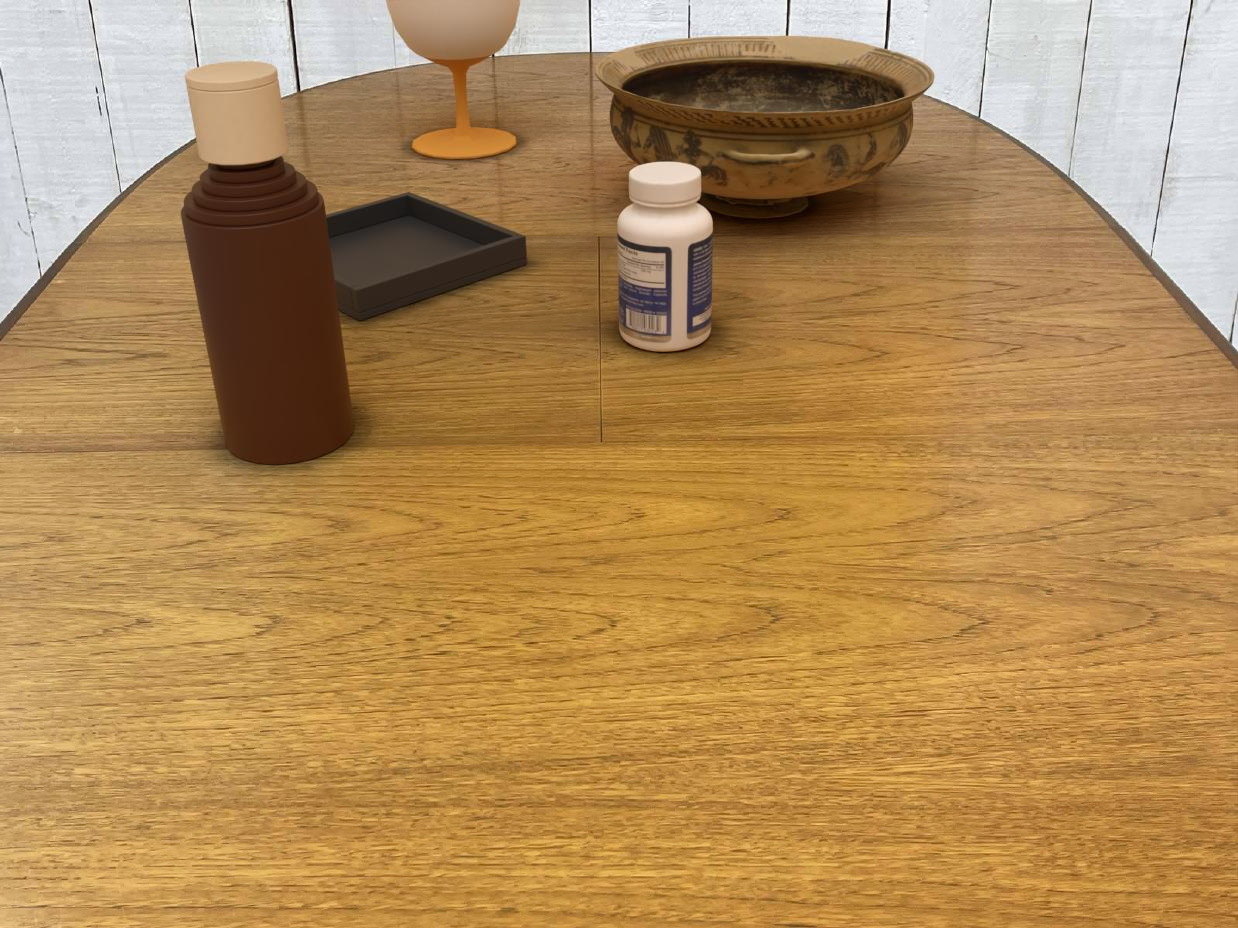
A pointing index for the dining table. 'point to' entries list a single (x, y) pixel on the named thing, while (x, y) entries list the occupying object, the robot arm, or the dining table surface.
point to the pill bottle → (665, 259)
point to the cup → (457, 62)
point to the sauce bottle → (269, 311)
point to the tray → (412, 252)
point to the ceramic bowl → (764, 114)
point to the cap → (237, 112)
